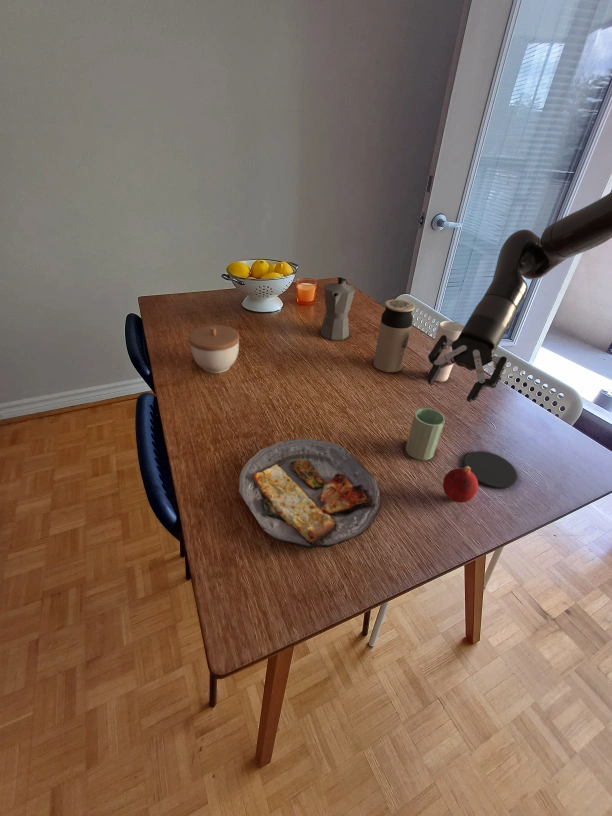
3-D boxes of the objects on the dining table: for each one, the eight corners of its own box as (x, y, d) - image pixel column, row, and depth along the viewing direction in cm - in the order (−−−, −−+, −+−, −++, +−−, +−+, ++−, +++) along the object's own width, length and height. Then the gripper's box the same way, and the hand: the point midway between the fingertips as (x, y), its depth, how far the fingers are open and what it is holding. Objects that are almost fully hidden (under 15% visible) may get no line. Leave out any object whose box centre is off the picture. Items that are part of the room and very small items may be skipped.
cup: (426, 440, 86) (437, 407, 81) (438, 459, 81) (450, 424, 76) (401, 442, 85) (410, 408, 80) (411, 461, 80) (421, 426, 75)
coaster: (498, 451, 84) (499, 449, 84) (526, 486, 76) (527, 484, 76) (454, 454, 83) (455, 453, 82) (479, 490, 75) (480, 489, 74)
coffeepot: (345, 345, 120) (352, 286, 110) (315, 340, 122) (319, 282, 112) (353, 325, 133) (361, 271, 122) (326, 321, 134) (331, 267, 124)
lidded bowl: (245, 375, 103) (243, 336, 97) (195, 381, 99) (190, 341, 93) (235, 352, 113) (233, 316, 106) (189, 358, 109) (184, 320, 102)
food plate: (404, 515, 69) (409, 502, 67) (289, 580, 58) (290, 566, 56) (322, 434, 85) (324, 421, 83) (221, 473, 75) (219, 459, 72)
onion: (470, 516, 70) (485, 484, 65) (437, 506, 71) (448, 474, 66) (471, 492, 74) (485, 461, 69) (439, 483, 76) (451, 452, 71)
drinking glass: (453, 384, 105) (470, 332, 97) (428, 383, 105) (443, 331, 96) (446, 371, 111) (462, 321, 102) (422, 370, 111) (436, 319, 102)
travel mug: (367, 364, 112) (377, 302, 101) (385, 356, 116) (397, 296, 106) (389, 376, 107) (402, 313, 97) (407, 367, 112) (422, 306, 101)
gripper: (453, 304, 81) (413, 372, 81) (524, 326, 74) (481, 401, 73) (457, 321, 88) (420, 384, 87) (523, 343, 80) (483, 412, 80)
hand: (448, 391), depth 80 cm, fingers open, 8 cm apart
